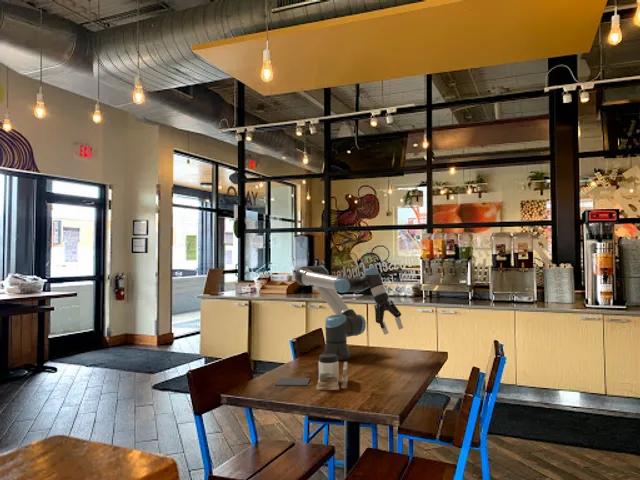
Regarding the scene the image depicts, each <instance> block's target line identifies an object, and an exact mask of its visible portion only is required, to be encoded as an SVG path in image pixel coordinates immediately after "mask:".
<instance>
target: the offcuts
mask: <svg viewBox="0 0 640 480" xmlns="http://www.w3.org/2000/svg"><path fill="white" fill-rule="evenodd" d="M317 385H318V387H338V385H339V383H338V380H337V376H333V375H332V372H321V373H320V380H319V379H318V380H317Z"/></svg>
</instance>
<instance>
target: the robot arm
mask: <svg viewBox="0 0 640 480" xmlns="http://www.w3.org/2000/svg"><path fill="white" fill-rule="evenodd" d="M363 273H364V275H363V276H360V277H346V278H345V277H340V276H335V275H331V274H330V272H329V270H328V269H327V268H326V267H324V266H322V265H312V266H311V265H310V266H309V265H307V266H301V267H299V268H297V269H296V271H295V273H294V279H295V282H296V284H298V285H300V286H311V287H312V289H313V290H314V291H318V292H319V294H320V295H321V296H322V298H323V300H324V301H325V302H326V304H327V305H328V306H329V308H330V310H331V311H332V312H333V313H334V314H332V315H328V316H327V317H326V318H325V324H324V326H325V327H324V328H325V329H324V330H325V346H324V349H323V353H322V354H336V355H337V357H338V361H344V360H345V361H346V360H349V359H350V358H351V353H350V350H349V347H348V344H347V342H348V341H347V338H348V337H354V336H356V337H357V336H359V335H362V334H363V333H364V332H365V331H366V327H367V326H366V323H367V321H366V319H365V317H364V316H363V315H362V314H359V313H358V314H357V313H356V312H355V310H354V309H353V308H349V307H348V305H347V304H346V302H345V301H344V300H343V299H342V298H341V296H340V295H339V294H338V293H342V294H343V293H350V292H353V293H355V294H359V293H362V292H363V291H365V290H367V289H369V288H370V291H371V295H372V296H373V299H374V302H375V303H376V304H374V305H373V306H374V313H375V315H374V316H375V323H377V324H379V326H380V328H381V330H382V332H383V335H387V334H389V330H388V327H387V325H386V322H385V321H384V317H385V312H386V311H387V312H389V313H390V314H391V315H392V316H393V317H394V320H395V323H396V325H397V328H398V330H402V329H404V326H403V324H402V323H403V322H402V319H401V316H402V312H401V311H400V310H399V309H398V307H397V306H396V305H395V303H394V302H393V300H392V299H390V300H389V295H388V294H387V291H386V288H385V285H384V283H383V280H382V277H381V275H380V274H381V273H380V272H379V270H378V268H377V267H376V266H372V267H368V268H367V269H365V270H364V272H363ZM329 274H330V275H329Z"/></svg>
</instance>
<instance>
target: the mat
mask: <svg viewBox="0 0 640 480" xmlns="http://www.w3.org/2000/svg"><path fill="white" fill-rule="evenodd" d="M310 381H311V378H310V377H279V378H278V380H277V382H276V383H275V387H308V386H309V382H310Z"/></svg>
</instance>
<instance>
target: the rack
mask: <svg viewBox="0 0 640 480" xmlns="http://www.w3.org/2000/svg"><path fill="white" fill-rule="evenodd" d="M342 370H343V371H342V373H343V374H342V377H341V383H340V384H341V385H340V384H338V387H318V384H316V386H315V387H316V390H317V391H322V390H323V391H324V390H325V391H331V390H332V391H335V390H337V391H339V390H340V387H341V389H348V383H349V379H348V377H349V373H348V370H349V369H348V361H343V368H342Z"/></svg>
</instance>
